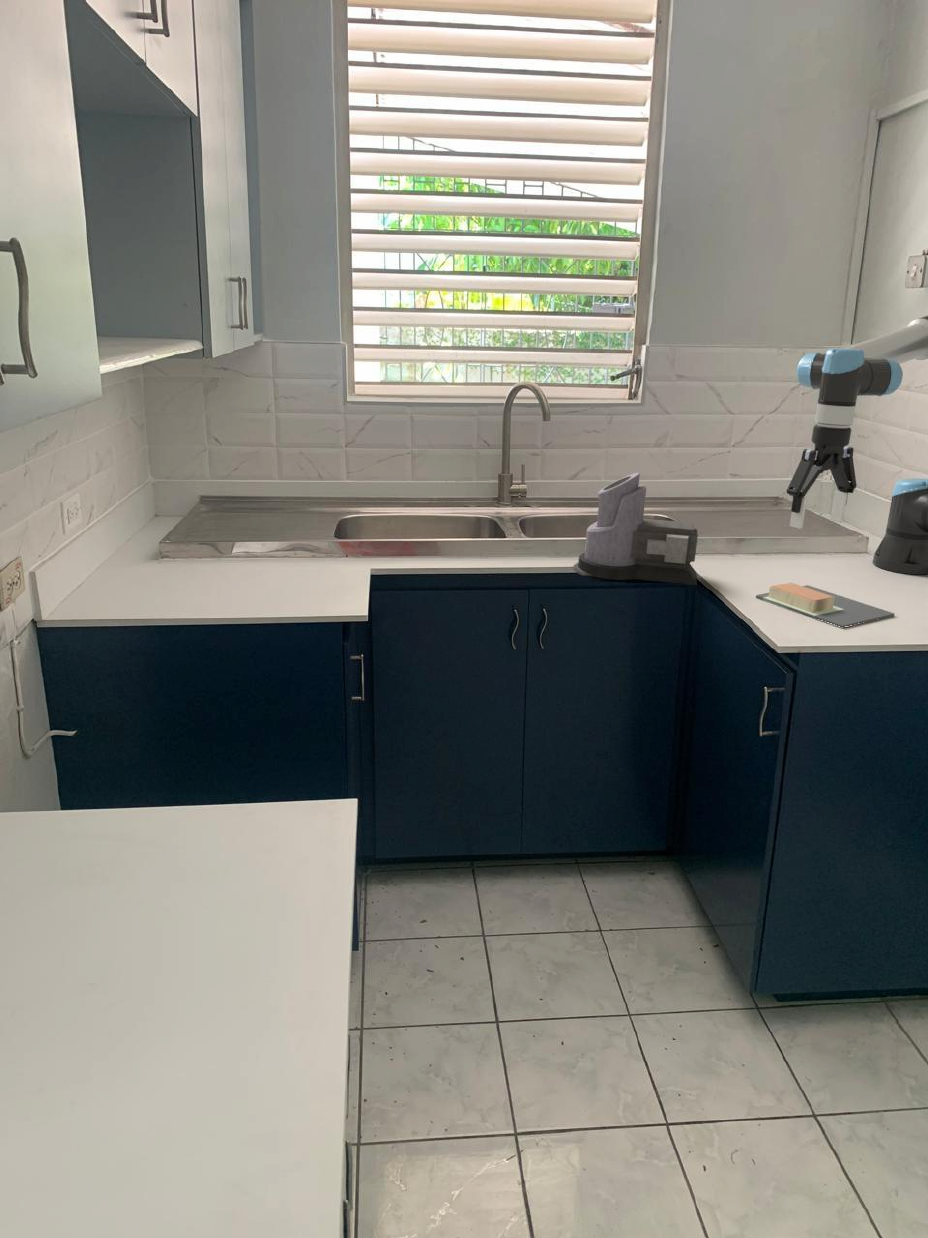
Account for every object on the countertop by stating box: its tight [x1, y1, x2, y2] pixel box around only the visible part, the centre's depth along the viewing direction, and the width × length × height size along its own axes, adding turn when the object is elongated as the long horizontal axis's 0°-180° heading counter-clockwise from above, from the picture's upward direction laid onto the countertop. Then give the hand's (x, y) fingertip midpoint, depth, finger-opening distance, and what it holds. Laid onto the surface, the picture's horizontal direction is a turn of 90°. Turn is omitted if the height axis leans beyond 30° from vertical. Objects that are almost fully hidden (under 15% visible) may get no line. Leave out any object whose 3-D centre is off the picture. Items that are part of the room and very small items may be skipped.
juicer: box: [572, 472, 699, 586], centre depth 225 cm, size 30×16×24 cm, turn 78°
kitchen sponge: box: [768, 582, 835, 613], centre depth 208 cm, size 7×3×12 cm
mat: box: [755, 584, 895, 627], centre depth 208 cm, size 18×23×1 cm
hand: (816, 524), depth 202 cm, fingers open, 13 cm apart
